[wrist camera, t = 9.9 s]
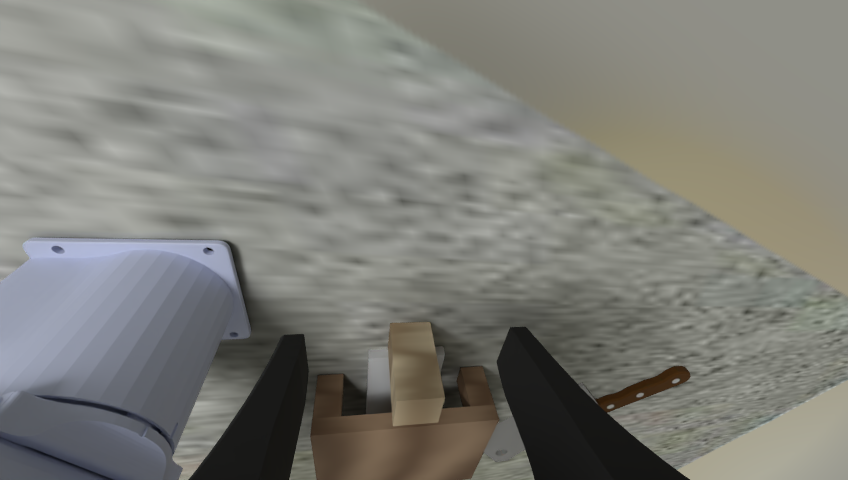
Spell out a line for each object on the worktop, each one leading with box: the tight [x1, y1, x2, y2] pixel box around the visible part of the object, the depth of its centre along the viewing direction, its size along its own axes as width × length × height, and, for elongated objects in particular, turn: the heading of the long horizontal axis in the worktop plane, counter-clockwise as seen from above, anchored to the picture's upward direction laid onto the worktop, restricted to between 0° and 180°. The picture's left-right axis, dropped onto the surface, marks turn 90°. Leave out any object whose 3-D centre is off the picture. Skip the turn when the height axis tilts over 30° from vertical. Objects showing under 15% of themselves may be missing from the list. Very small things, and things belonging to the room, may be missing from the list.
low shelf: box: [310, 366, 499, 480], centre depth 30 cm, size 14×11×5 cm
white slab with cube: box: [366, 322, 445, 426], centre depth 28 cm, size 6×16×6 cm, turn 173°
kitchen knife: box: [484, 366, 690, 462], centre depth 37 cm, size 24×1×10 cm
